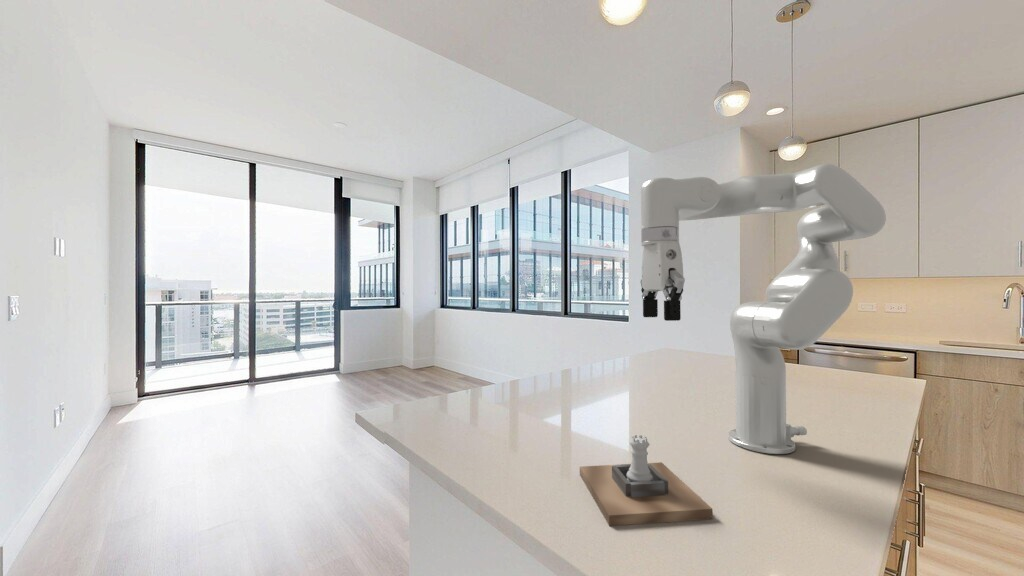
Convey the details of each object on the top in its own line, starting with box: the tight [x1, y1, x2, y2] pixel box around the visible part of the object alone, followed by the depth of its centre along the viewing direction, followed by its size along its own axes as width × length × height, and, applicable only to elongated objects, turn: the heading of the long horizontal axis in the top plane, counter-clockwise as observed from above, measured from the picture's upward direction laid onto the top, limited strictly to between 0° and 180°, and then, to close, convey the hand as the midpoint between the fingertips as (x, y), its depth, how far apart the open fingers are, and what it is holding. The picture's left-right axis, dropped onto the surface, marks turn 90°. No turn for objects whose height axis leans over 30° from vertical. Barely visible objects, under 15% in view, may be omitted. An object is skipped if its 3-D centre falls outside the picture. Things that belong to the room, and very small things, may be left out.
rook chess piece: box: [626, 434, 653, 482], centre depth 66 cm, size 4×4×8 cm
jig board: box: [579, 461, 714, 527], centre depth 66 cm, size 16×16×4 cm
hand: (660, 318), depth 83 cm, fingers open, 9 cm apart
